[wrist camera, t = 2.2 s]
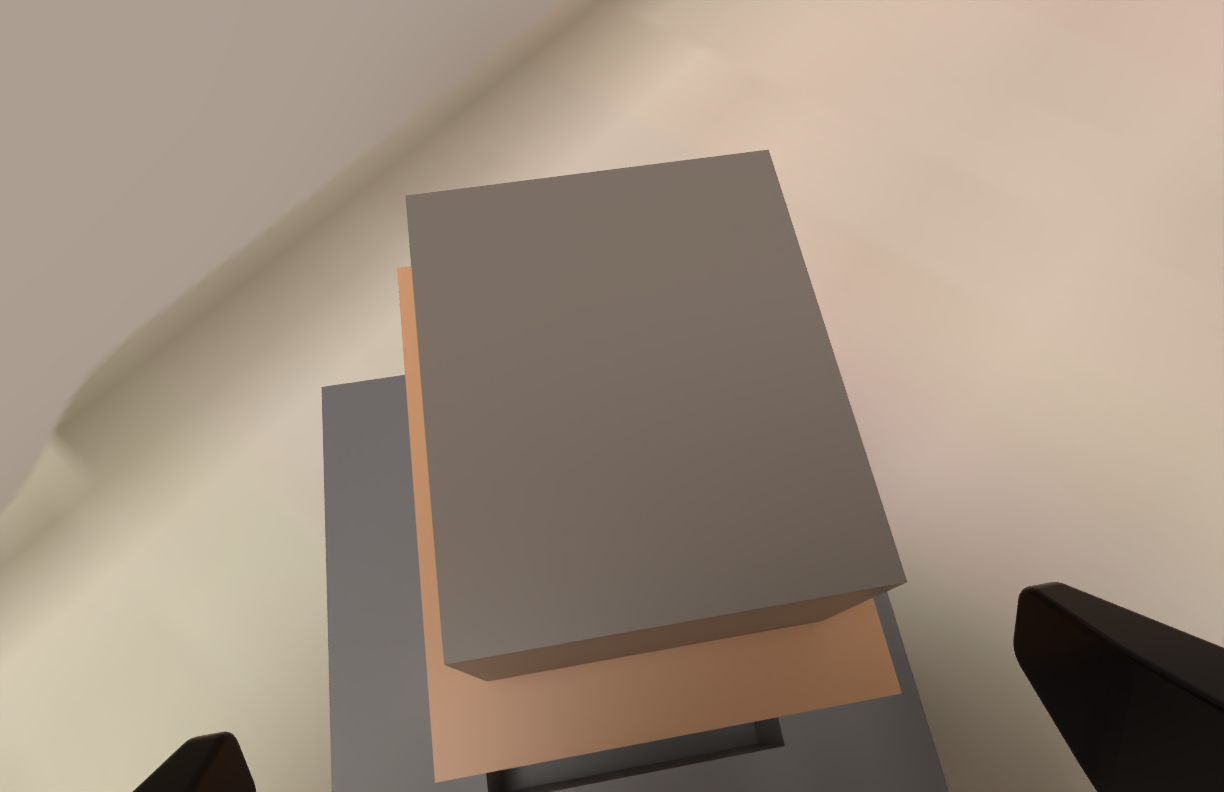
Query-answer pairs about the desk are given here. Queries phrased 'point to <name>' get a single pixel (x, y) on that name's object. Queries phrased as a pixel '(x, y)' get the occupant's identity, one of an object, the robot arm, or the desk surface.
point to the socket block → (569, 787)
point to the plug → (631, 466)
